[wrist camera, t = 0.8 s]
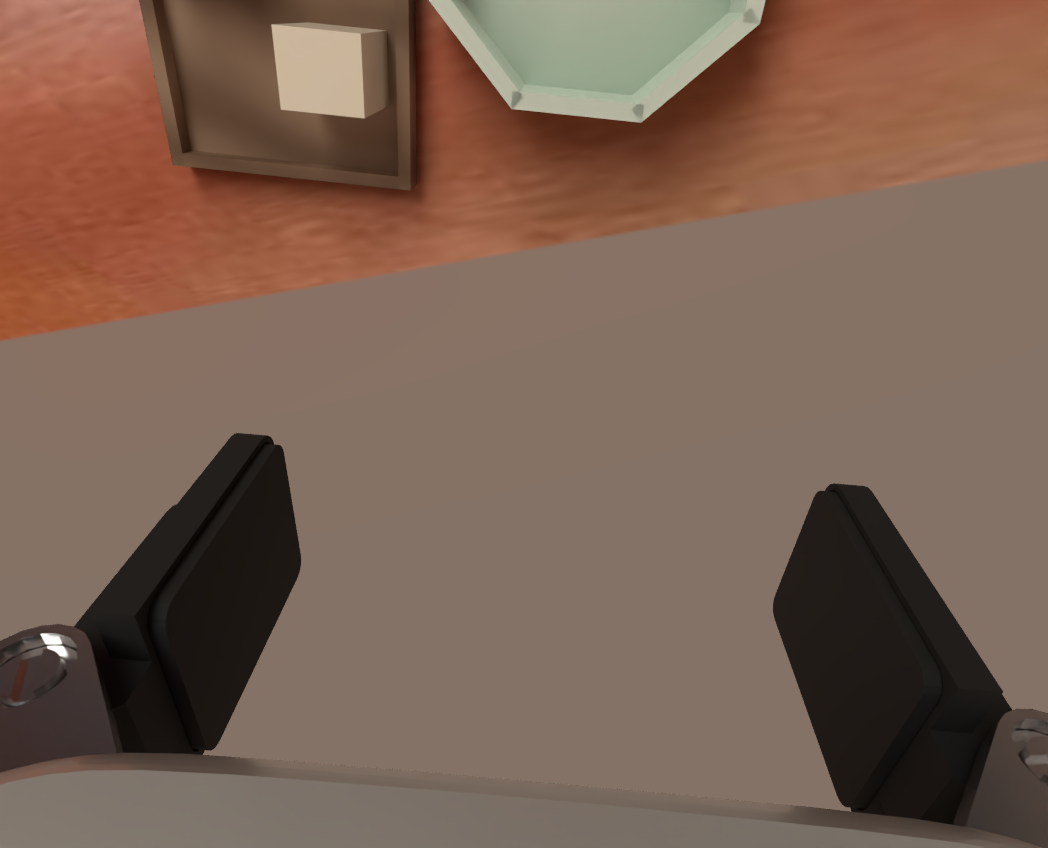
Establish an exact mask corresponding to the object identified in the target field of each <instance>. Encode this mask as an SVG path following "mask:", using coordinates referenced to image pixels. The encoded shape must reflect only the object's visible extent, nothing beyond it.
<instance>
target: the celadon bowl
mask: <svg viewBox="0 0 1048 848" xmlns="http://www.w3.org/2000/svg"><path fill="white" fill-rule="evenodd" d="M429 1H430V3H431V4H432V5H433V6H434V8H435V9H436V10H437V12H438V13H439V14H440V16H441V17H442V18H443V20H444V21H445V22H446V24H447V25H448V26H449V27H450V29H451V30H452V31H453V33H454V34H455V35H456V37H457V38H458V39H459V41H460V42H461V43H462V45H463V46H464V47H465V49H466V50H467V51H468V52H469V54H470V55H471V56H472V58H473V59H474V60H475V62H476V63H477V64H478V66H479V67H480V68H481V70H482V71H483V72H484V73H485V75H486V76H487V77H488V79H489V80H490V81H491V83H492V84H493V85H494V87H495V88H496V89H497V91H498V92H499V93H500V95H501V96H502V97H503V98H504V100H505V101H506V102H507V104H508V105H509V106H510V108H511V109H516V110H526V111H535V112H545V113H554V114H564V115H573V116H583V117H592V118H602V119H611V120H620V121H630V122H639V123H642V122H643V121H644V120H645V119H646V118H647V117H649V116H650V115H651V114H652V113H653V112H655V111H656V110H657V109H658V108H659V107H661V106H662V105H663V104H664V103H665V102H667V101H668V100H669V99H670V98H671V97H673V96H674V95H675V94H676V93H677V92H679V91H680V90H681V89H682V88H683V87H685V86H686V85H687V84H688V83H689V82H691V81H692V80H693V79H694V78H695V77H697V76H698V75H699V74H700V73H701V72H703V71H704V70H705V69H706V68H707V67H709V66H710V65H711V64H712V63H713V62H715V61H716V60H717V59H718V58H719V57H721V56H722V55H723V54H724V53H725V52H727V51H728V50H729V49H730V48H731V47H733V46H734V45H735V44H736V43H737V42H739V41H740V40H741V39H742V38H743V37H745V36H746V35H747V34H748V33H749V32H751V31H752V30H753V29H754V28H755V27H757V26H758V25H759V24H760V21H761V17H762V13H763V9H764V5H765V1H766V0H429Z"/></svg>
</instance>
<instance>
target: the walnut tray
mask: <svg viewBox="0 0 1048 848" xmlns="http://www.w3.org/2000/svg"><path fill="white" fill-rule="evenodd" d="M139 2H140V6H141V11H142V16H143V21H144V26H145V31H146V36H147V41H148V45H149V50H150V55H151V60H152V65H153V70H154V75H155V80H156V84H157V89H158V94H159V99H160V104H161V109H162V114H163V119H164V123H165V128H166V133H167V138H168V143H169V148H170V153H171V158H172V162H173V165H178V166H187V167H196V168H205V169H215V170H224V171H233V172H243V173H252V174H261V175H270V176H280V177H289V178H298V179H308V180H317V181H326V182H335V183H345V184H354V185H363V186H373V187H382V188H391V189H400V190H410V191H411V190H412V189H413V188H414V186H415V185H416V184H417V180H416V25H415V0H139ZM305 22H310V23H319V24H329V25H338V26H348V27H358V28H367V29H377V30H386V31H387V57H388V93H389V106H388V107H386V108H384V109H382V110H380V111H378V112H376V113H374V114H372V115H370V116H368V117H367V118H355V117H346V116H337V115H327V114H318V113H308V112H299V111H289V110H281V107H280V98H279V89H278V80H277V71H276V62H275V53H274V44H273V35H272V26H271V24H287V23H305Z"/></svg>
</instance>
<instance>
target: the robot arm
mask: <svg viewBox="0 0 1048 848" xmlns="http://www.w3.org/2000/svg"><path fill="white" fill-rule="evenodd" d="M300 566H301V555H300V548H299V542H298V536H297V530H296V524H295V517H294V511H293V506H292V499H291V493H290V487H289V481H288V476H287V469H286V463H285V457H284V452H283V449H282V447H281V446H280V445H274V442H273V440H272V438H271V437H269V436H265V435H253V434H241V433H236V434H234V435H233V436H231V438H230V439H229V440H228V441H227V442H226V444H225V445H224V446H223V447H222V449H221V450H220V451H219V452H218V454H217V455H216V456H215V458H214V459H213V460H212V461H211V462H210V464H209V465H208V466H207V467H206V469H205V470H204V471H203V473H202V474H201V475H200V476H199V477H198V479H197V480H196V481H195V482H194V484H193V485H192V486H191V488H190V489H189V490H188V491H187V492H186V494H185V495H184V496H183V497H182V499H181V500H180V501H179V503H178V504H177V505H174V506H173V507H171V508H170V509H169V510H168V511H167V512H166V513H165V515H164V516H163V517H162V518H161V520H160V521H159V522H158V523H157V524H156V526H155V527H154V528H153V529H152V531H151V532H150V533H149V534H148V536H147V537H146V538H145V539H144V541H143V542H142V543H141V544H140V546H139V547H138V548H137V549H136V550H135V552H134V553H133V554H132V556H131V557H130V558H129V559H128V560H127V562H126V563H125V564H124V566H123V567H122V568H121V569H120V570H119V572H118V573H117V574H116V575H115V576H114V578H113V579H112V580H111V581H110V583H109V584H108V585H107V586H106V588H105V589H104V590H103V591H102V593H101V594H100V595H99V596H98V598H97V599H96V600H95V601H94V603H93V604H92V605H91V606H90V607H89V609H88V610H87V611H86V612H85V614H84V615H83V616H82V617H81V619H80V620H79V621H78V622H77V624H76V625H75V626H68V625H62V624H55V625H42V626H38V627H34V628H31V629H27V630H23V631H20V632H18V633H16V634H14V635H12V636H9V637H8V638H5V639H3V640H1V641H0V848H1048V713H1045V712H1042V711H1038V710H1034V709H1015V710H1012V709H1011V708H1010V706H1009V704H1008V703H1007V701H1006V700H1005V698H1004V697H1003V695H1002V693H1003V691H1002V689H1001V688H1000V687H999V685H998V683H997V682H996V680H995V679H994V677H993V676H992V674H991V673H990V671H989V670H988V668H987V667H986V665H985V663H984V662H983V660H982V659H981V657H980V656H979V654H978V653H977V651H976V650H975V648H974V647H973V645H972V644H971V642H970V641H969V639H968V637H966V634H965V633H964V631H963V630H962V628H961V627H960V625H959V624H958V622H957V621H956V619H955V618H954V616H953V615H952V613H951V612H950V610H949V609H948V607H947V605H946V604H945V602H944V601H943V599H942V598H941V596H940V595H939V593H938V592H937V590H936V589H935V587H934V586H933V584H932V583H931V581H930V579H929V578H928V577H927V575H926V573H925V572H924V570H923V569H922V567H921V566H920V564H919V563H918V561H917V560H916V558H915V557H914V555H913V554H912V552H911V550H910V549H909V547H908V546H907V544H906V543H905V542H904V540H903V538H902V537H901V535H900V534H899V532H898V531H897V529H896V528H895V526H894V525H893V523H892V521H891V520H890V518H889V517H888V516H887V514H886V512H885V511H884V509H883V508H882V506H881V505H880V503H879V502H878V500H877V499H876V497H875V496H874V494H873V493H872V491H871V490H870V489H869V488H868V487H865V486H856V485H844V484H830V485H829V486H828V487H827V488H826V490H825V491H819V492H817V493H816V495H815V497H814V499H813V501H812V504H811V507H810V509H809V511H808V514H807V516H806V519H805V521H804V524H803V526H802V529H801V532H800V534H799V537H798V539H797V542H796V544H795V547H794V549H793V552H792V554H791V557H790V559H789V562H788V564H787V567H786V570H785V572H784V574H783V577H782V579H781V582H780V585H779V587H778V590H777V592H776V595H775V598H774V603H773V613H774V618H775V621H776V624H777V627H778V630H779V633H780V635H781V638H782V641H783V644H784V647H785V649H786V652H787V655H788V658H789V661H790V664H791V667H792V669H793V672H794V675H795V678H796V681H797V683H798V686H799V689H800V692H801V695H802V698H803V700H804V703H805V706H806V709H807V712H808V714H809V717H810V720H811V723H812V726H813V729H814V732H815V734H816V737H817V740H818V743H819V745H820V749H821V751H822V754H823V757H824V760H825V763H826V766H827V768H828V771H829V774H830V777H831V780H832V782H833V785H834V788H835V791H836V794H837V796H838V798H839V800H840V802H841V803H842V805H844V806H845V807H850V808H851V811H852V812H849V811H840V810H831V809H822V808H813V807H803V806H793V805H781V804H772V803H761V802H750V801H739V800H729V799H719V798H707V797H697V796H686V795H676V794H666V793H655V792H644V791H633V790H622V789H610V788H600V787H588V786H577V785H565V784H555V783H544V782H533V781H521V780H509V779H498V778H487V777H476V776H464V775H452V774H441V773H429V772H417V771H405V770H393V769H381V768H369V767H357V766H345V765H333V764H321V763H309V762H296V761H284V760H269V759H255V758H240V757H238V758H237V757H225V756H209V755H203V753H204V751H205V750H212V749H214V748H215V747H216V746H217V744H218V742H219V741H220V739H221V737H222V735H223V733H224V731H225V728H226V726H227V724H228V722H229V720H230V718H231V716H232V713H233V712H234V710H235V707H236V705H237V703H238V701H239V699H240V697H241V695H242V693H243V691H244V689H245V687H246V684H247V682H248V680H249V678H250V676H251V674H252V672H253V670H254V667H255V666H256V663H257V661H258V659H259V657H260V655H261V653H262V651H263V649H264V647H265V645H266V642H267V640H268V638H269V636H270V634H271V632H272V630H273V628H274V626H275V624H276V622H277V619H278V617H279V615H280V613H281V611H282V609H283V607H284V605H285V603H286V600H287V598H288V596H289V594H290V592H291V590H292V588H293V586H294V584H295V582H296V580H297V577H298V575H299V571H300Z"/></svg>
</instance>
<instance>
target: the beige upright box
mask: <svg viewBox="0 0 1048 848" xmlns="http://www.w3.org/2000/svg"><path fill="white" fill-rule="evenodd" d="M271 26H272V35H273V44H274V53H275V62H276V71H277V80H278V89H279V98H280V107H281V110H289V111H299V112H308V113H318V114H327V115H337V116H346V117H355V118H367V117H368V116H370V115H372V114H374V113H376V112H378V111H380V110H382V109H384V108H386V107H388V106H389V93H388V57H387V31H386V30H377V29H367V28H358V27H348V26H338V25H329V24H319V23H310V22H305V23H287V24H271Z"/></svg>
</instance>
